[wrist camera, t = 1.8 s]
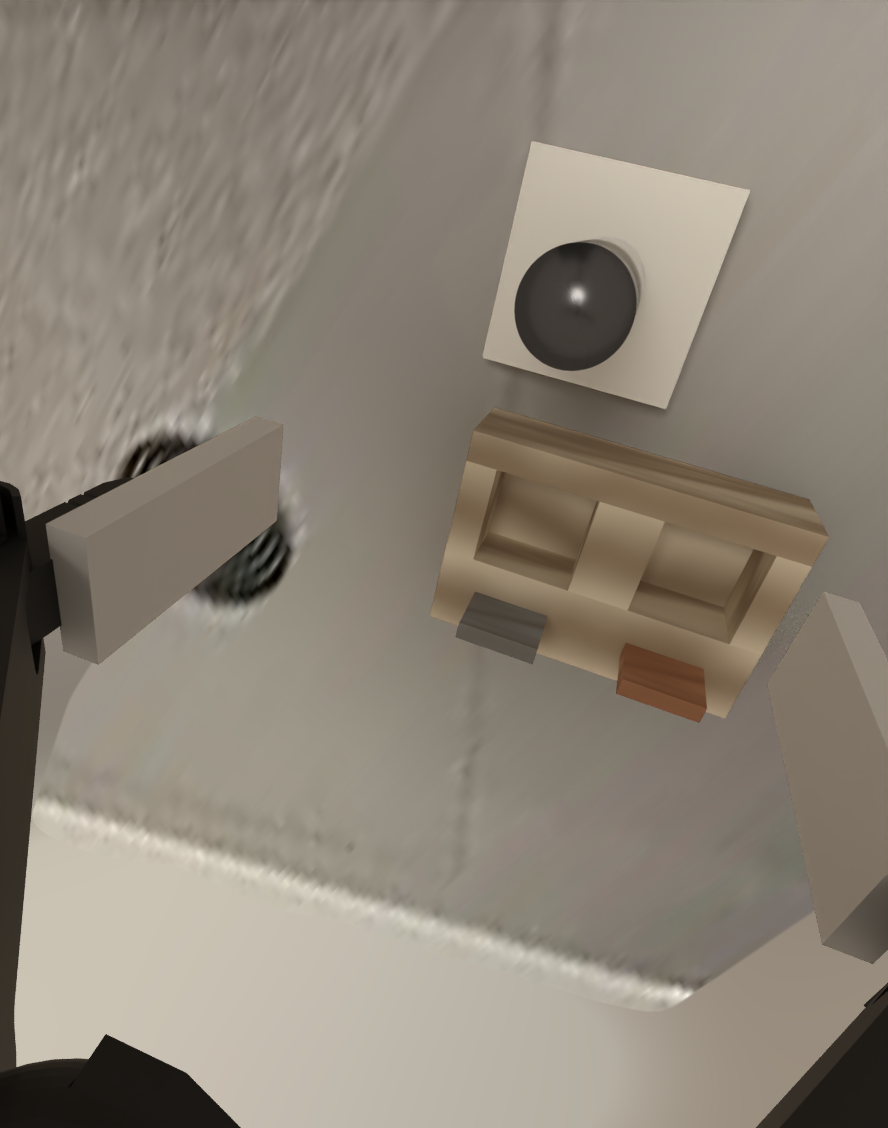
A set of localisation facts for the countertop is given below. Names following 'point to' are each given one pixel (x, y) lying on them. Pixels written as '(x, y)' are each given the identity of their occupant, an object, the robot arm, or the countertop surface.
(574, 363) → the shaker with dark cap
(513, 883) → the countertop surface
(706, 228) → the plate
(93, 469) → the countertop surface
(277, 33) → the countertop surface
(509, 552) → the socket block
